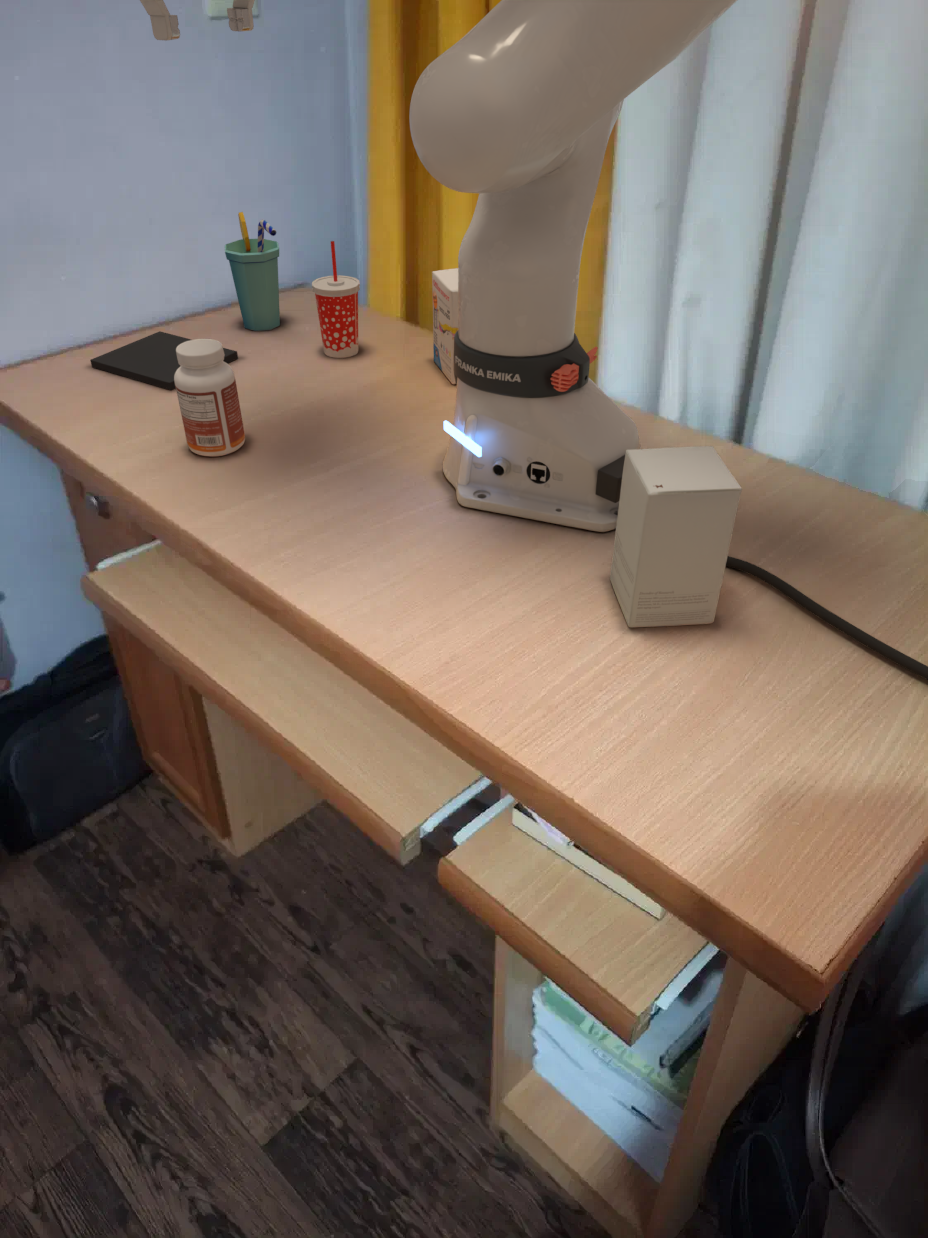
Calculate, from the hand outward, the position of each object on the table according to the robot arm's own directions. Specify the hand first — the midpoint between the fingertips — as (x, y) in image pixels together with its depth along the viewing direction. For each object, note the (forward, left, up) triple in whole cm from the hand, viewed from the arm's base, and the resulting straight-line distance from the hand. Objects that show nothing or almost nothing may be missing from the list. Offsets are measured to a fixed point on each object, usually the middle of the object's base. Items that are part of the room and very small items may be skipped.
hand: (206, 34), depth 82 cm
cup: (+19, -23, -38) cm, 48 cm away
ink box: (-14, -25, -38) cm, 47 cm away
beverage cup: (+4, -21, -38) cm, 43 cm away
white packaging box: (-53, +10, -38) cm, 65 cm away
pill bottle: (-1, +8, -38) cm, 38 cm away
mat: (+21, -6, -37) cm, 44 cm away
